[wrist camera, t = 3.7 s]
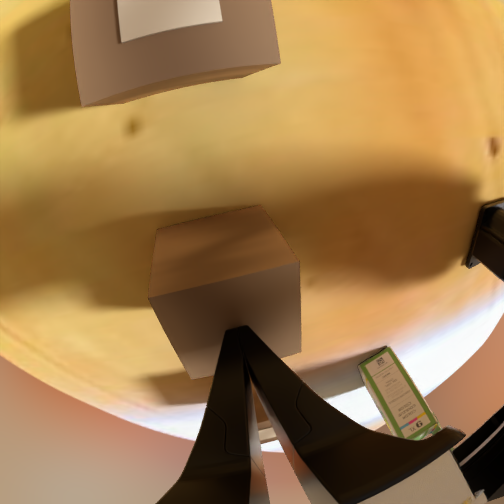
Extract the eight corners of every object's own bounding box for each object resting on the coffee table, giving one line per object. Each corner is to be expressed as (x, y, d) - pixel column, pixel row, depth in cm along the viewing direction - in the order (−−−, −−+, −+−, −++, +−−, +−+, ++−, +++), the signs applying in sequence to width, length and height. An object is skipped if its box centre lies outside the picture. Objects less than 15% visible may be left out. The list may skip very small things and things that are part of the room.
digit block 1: (227, -19, 7) (255, -77, 3) (242, 77, 10) (282, 62, 5) (108, 6, 6) (66, -39, 2) (121, 104, 9) (77, 108, 5)
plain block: (260, 204, 13) (299, 261, 9) (270, 285, 16) (301, 352, 12) (157, 228, 12) (147, 298, 8) (185, 306, 15) (191, 379, 11)
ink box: (355, 365, 24) (416, 478, 12) (389, 343, 23) (457, 450, 12) (364, 386, 27) (413, 476, 16) (392, 368, 27) (445, 454, 16)
